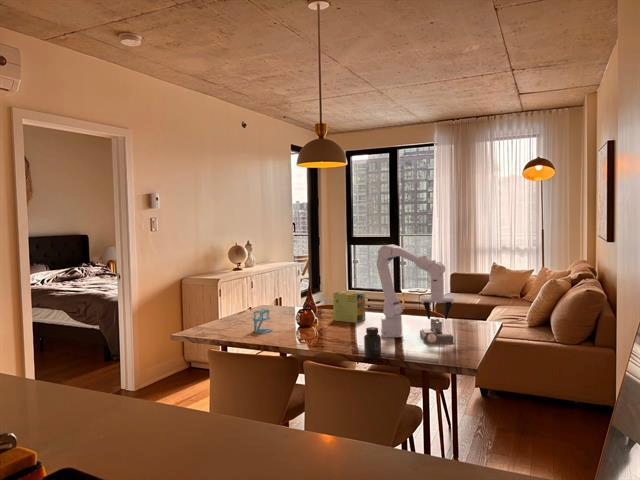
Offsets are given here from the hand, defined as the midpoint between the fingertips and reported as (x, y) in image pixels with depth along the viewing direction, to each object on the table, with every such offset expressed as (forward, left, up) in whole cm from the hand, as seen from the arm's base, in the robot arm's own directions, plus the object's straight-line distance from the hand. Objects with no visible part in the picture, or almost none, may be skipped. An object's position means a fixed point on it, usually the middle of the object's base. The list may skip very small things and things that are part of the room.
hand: (437, 318), depth 224 cm
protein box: (-40, +50, -11) cm, 65 cm away
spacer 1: (0, +6, -6) cm, 9 cm away
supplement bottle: (-31, -27, -11) cm, 42 cm away
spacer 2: (0, 0, -6) cm, 7 cm away
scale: (0, +2, -10) cm, 11 cm away
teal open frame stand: (-85, +21, -11) cm, 88 cm away
